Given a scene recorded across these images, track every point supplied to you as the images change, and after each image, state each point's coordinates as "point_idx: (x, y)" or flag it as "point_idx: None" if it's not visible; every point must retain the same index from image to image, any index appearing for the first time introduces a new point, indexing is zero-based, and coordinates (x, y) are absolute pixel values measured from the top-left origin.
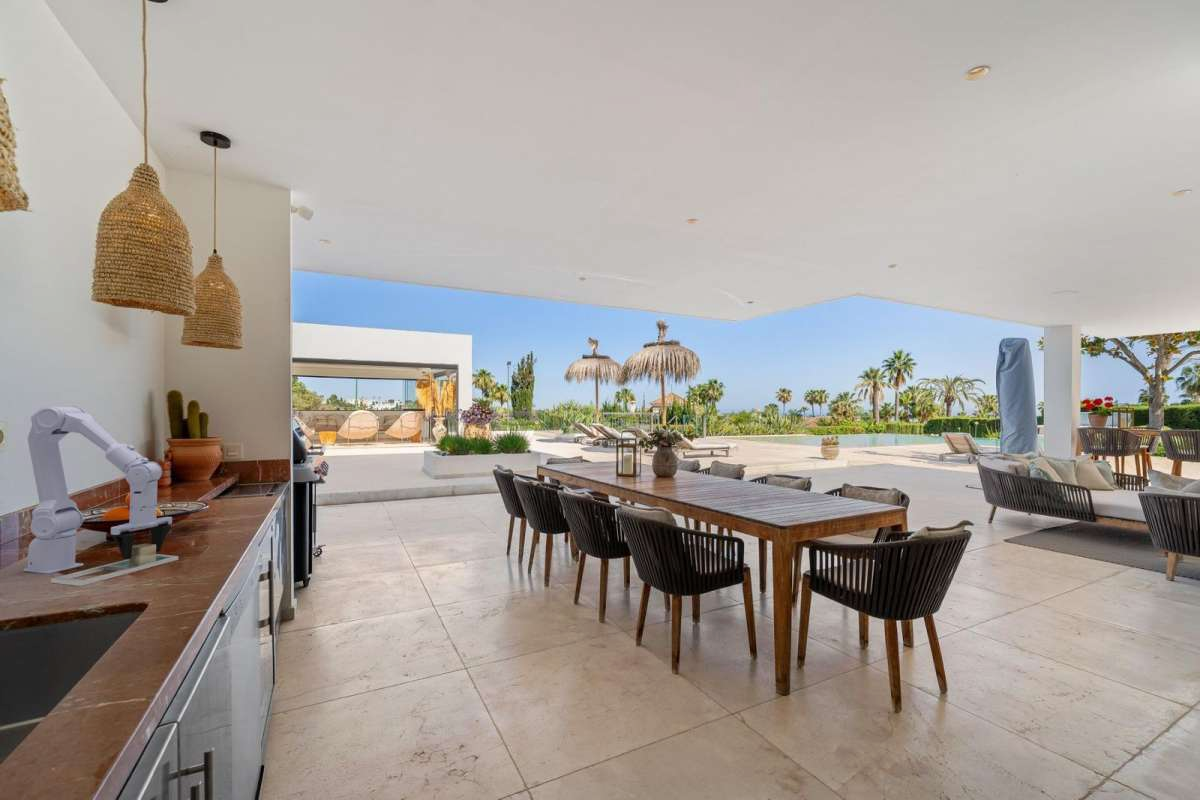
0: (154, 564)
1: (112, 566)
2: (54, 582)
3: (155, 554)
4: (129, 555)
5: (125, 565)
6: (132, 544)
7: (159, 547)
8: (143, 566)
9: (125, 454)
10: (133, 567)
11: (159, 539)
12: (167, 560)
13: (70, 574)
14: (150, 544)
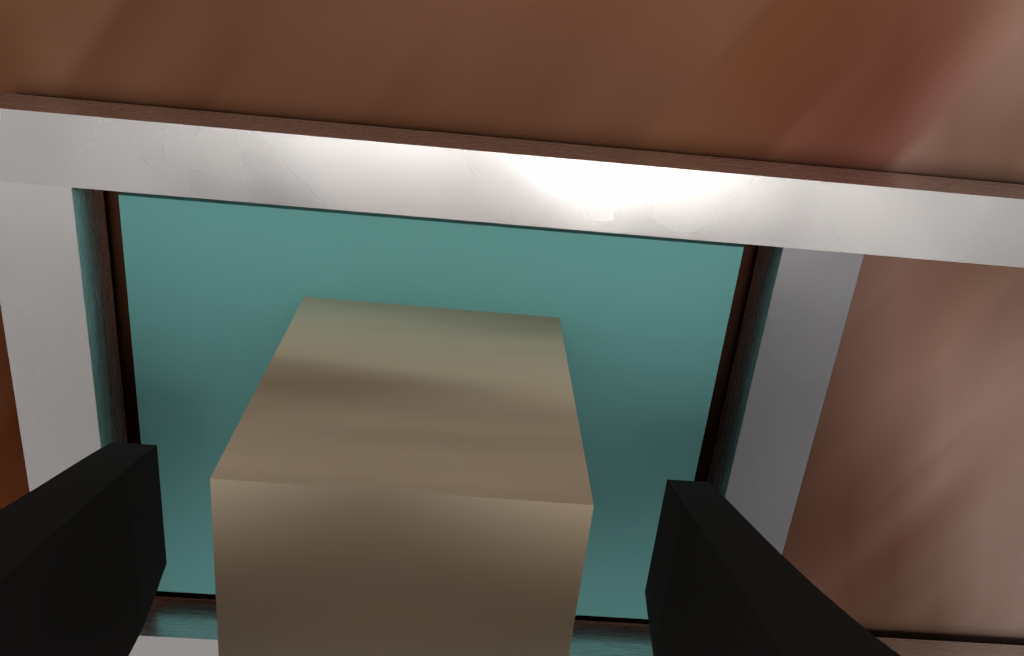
0: (461, 143)
1: None
2: None
3: (282, 357)
4: (730, 508)
5: None
6: (781, 649)
7: (106, 475)
8: (664, 161)
9: None
10: (805, 218)
11: (6, 622)
12: (214, 117)
13: None
14: (251, 598)
